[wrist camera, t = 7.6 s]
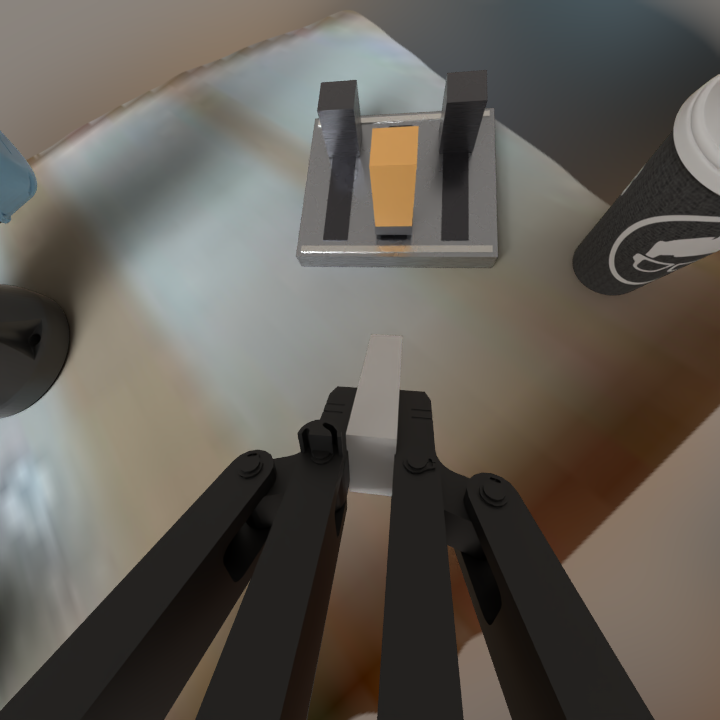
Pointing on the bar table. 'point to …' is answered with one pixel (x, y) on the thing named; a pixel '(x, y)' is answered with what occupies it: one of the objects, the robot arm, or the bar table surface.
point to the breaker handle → (393, 178)
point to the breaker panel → (432, 187)
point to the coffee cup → (662, 207)
